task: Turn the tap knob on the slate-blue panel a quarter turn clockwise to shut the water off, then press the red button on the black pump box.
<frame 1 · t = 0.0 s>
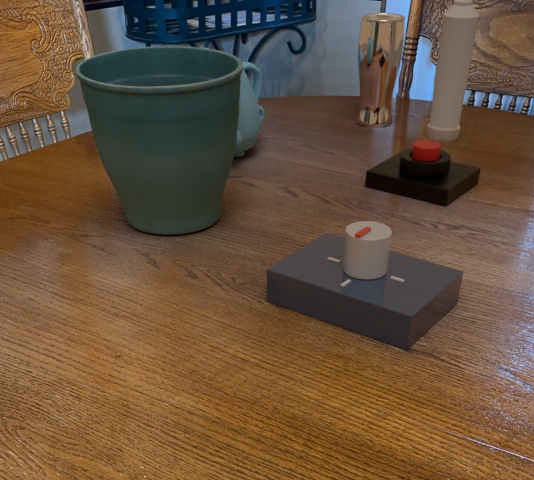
pump box: (421, 186, 95), on the table
decorative pot: (207, 153, 106), on the table
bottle: (441, 139, 111), on the table
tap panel: (361, 302, 71), on the table
tap knob: (366, 248, 67), point 6 cm above the table, hinge at 90.0°
flower pot: (174, 219, 87), on the table
beer glass: (373, 123, 117), on the table
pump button: (426, 151, 92), point 4 cm above the table, slide at 0.1 cm
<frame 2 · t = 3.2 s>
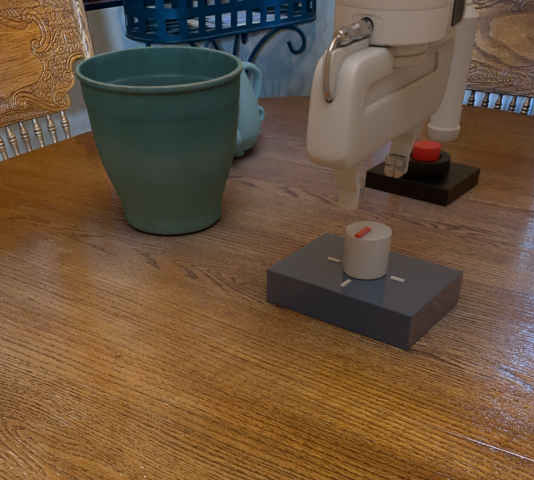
hand: (373, 190, 63), 11 cm above the table, tool pointing down, fingers open, 8 cm apart
nothing on the table moved.
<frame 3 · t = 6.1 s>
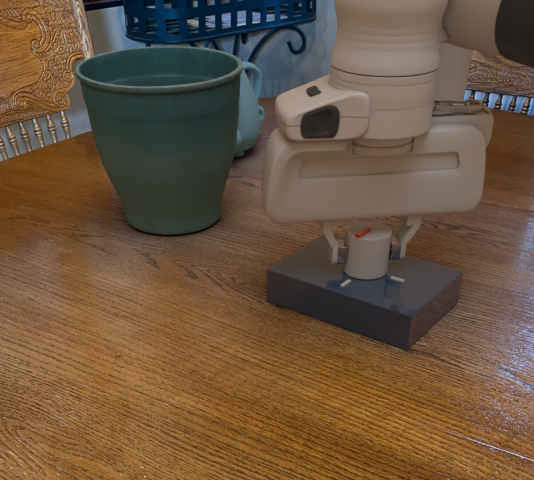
hand: (365, 259, 68), 5 cm above the table, tool pointing down, fingers closed on tap knob, 4 cm apart
tap knob: (366, 248, 67), point 6 cm above the table, hinge at 90.1°, touching gripper
everything else where it was.
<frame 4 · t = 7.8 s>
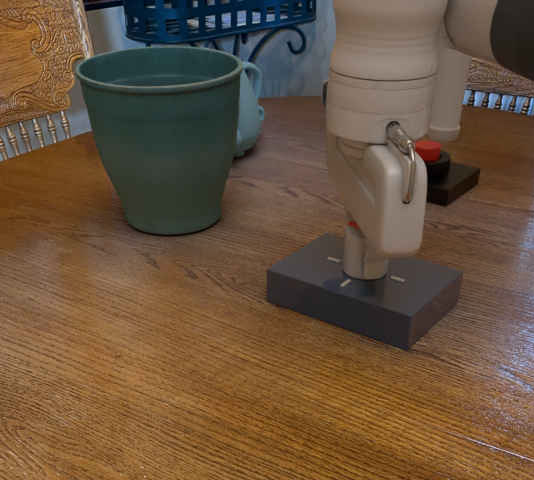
hand: (363, 262, 68), 4 cm above the table, tool pointing down, fingers closed on tap knob, 4 cm apart
tap knob: (366, 248, 67), point 6 cm above the table, hinge at -1.9°, touching gripper
everything else where it was.
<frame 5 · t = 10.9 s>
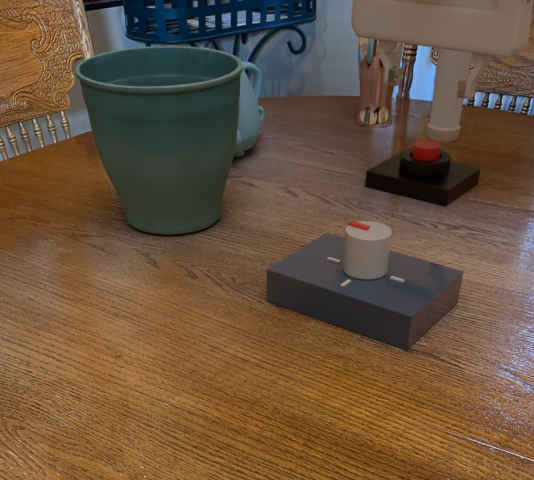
hand: (428, 90, 81), 13 cm above the table, tool pointing down, fingers open, 8 cm apart
tap knob: (366, 248, 67), point 6 cm above the table, hinge at -1.6°
everything else where it was.
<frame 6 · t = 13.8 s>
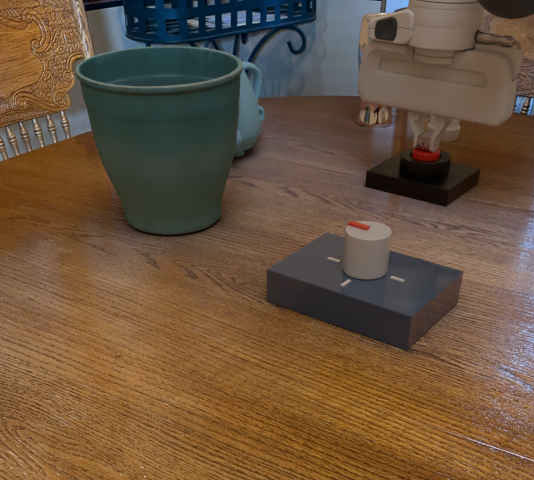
hand: (425, 149, 92), 5 cm above the table, tool pointing down, fingers closed, pressing on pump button
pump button: (425, 156, 93), point 4 cm above the table, slide at -0.6 cm, touching gripper
everything else where it was.
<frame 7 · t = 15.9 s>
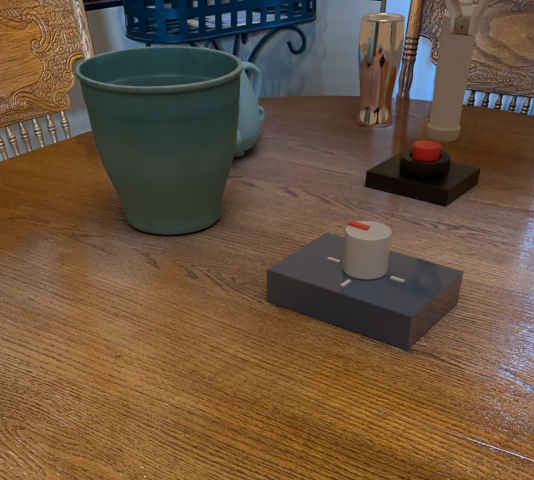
hand: (463, 34, 83), 18 cm above the table, tool pointing down, fingers closed
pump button: (426, 151, 92), point 4 cm above the table, slide at 0.1 cm
everything else where it was.
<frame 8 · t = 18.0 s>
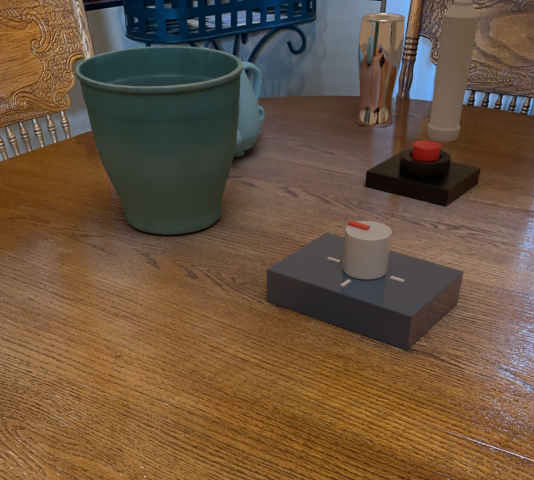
nothing on the table moved.
at the end: tap knob at -2° (first picture: +90°); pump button pushed in 1.1 cm at the most during the clip, back to where it started at the end; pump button slide at 0.1 cm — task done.
